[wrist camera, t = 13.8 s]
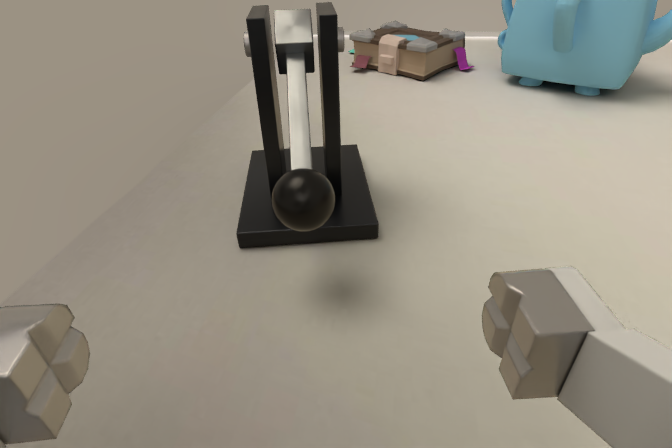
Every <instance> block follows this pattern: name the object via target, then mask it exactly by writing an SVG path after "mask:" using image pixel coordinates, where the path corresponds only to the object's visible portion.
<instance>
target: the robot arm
mask: <svg viewBox="0 0 672 448" xmlns="http://www.w3.org/2000/svg"><path fill="white" fill-rule="evenodd" d="M488 288H489V290H490V292H491V294H492V297H491V298H490V299H489V300H487V301H486V302H485V303H484V307H483V312H482V326H483V332H484V336H485V339H486V342H487V344H488V346H489V348H490V350H491V351H492V352H494V353H495V354H497V355H498V356H499V357H501V358H502V360H501V363H500V366H499V371H500V373H501V375H502V377H503V379H504V381H505V384H506V386H507V388H508V390H509V392H510V394H511V397H512V399H529V398H546V397H558V398H557V399H558V400H559V401H560V402H561V403H562V404H563V405H564V406H566V407H567V408H568V409H569V410H570V411H571V412H572V413H574V414H575V415H576V416H577V417H578V418H579V419H580V420H582V421H583V422H584V423H585V424H586V425H587V426H588V427H589V428H591V429H592V430H593V431H594V432H595V433H596V434H597V435H599V436H600V437H601V438H602V439H603V440H604V441H605V442H607V443H608V444H609V445H610V446H611V447H612V448H672V349H671V348H669V347H667V346H666V345H664V344H662V343H660V342H658V341H656V340H655V339H653V338H651V337H649V336H647V335H645V334H644V333H642V332H640V331H638V330H636V329H626V328H625V327H624V326H623V324H622V323H621V322H620V321H619V320H618V318H617V317H616V316H615V315H614V313H613V312H612V311H611V310H610V309H609V307H608V306H607V305H606V304H605V302H604V301H603V300H602V299H601V298H600V296H599V295H598V294H597V293H596V291H595V290H594V289H593V288H592V286H591V285H590V284H589V283H588V282H587V280H586V279H585V278H584V277H583V275H582V274H581V273H580V272H579V271H578V270H577V269H576V268H574V267H572V266H564V267H553V268H545V269H531V270H518V271H506V272H495V273H494V274H493V275H492V277H491V278H490V282H489V286H488ZM74 318H75V317H74V316H73V314H72V312H71V311H70V309H69V308H68V306H67V305H63V304H42V305H21V306H5V307H0V448H6V445H5V444H14V443H23V442H32V441H40V440H49V439H56V438H57V436H58V433H59V431H60V429H61V427H62V425H63V423H64V421H65V418H66V416H67V414H68V412H69V410H70V408H71V406H72V402H71V399H70V396H69V393H70V392H71V391H73V390H74V389H75V388H76V387H77V386H79V385H80V384H81V383H82V382H83V379H84V377H85V375H86V372H87V370H88V365H89V357H90V351H89V345H88V341H87V340H86V338H85V336H84V334H83V333H82V332H80V331H78V330H77V329H75V328H73V327H72V326H71V324H72V322H73V320H74Z"/></svg>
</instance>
